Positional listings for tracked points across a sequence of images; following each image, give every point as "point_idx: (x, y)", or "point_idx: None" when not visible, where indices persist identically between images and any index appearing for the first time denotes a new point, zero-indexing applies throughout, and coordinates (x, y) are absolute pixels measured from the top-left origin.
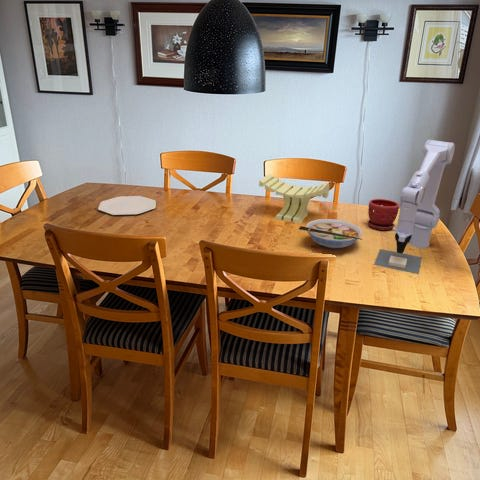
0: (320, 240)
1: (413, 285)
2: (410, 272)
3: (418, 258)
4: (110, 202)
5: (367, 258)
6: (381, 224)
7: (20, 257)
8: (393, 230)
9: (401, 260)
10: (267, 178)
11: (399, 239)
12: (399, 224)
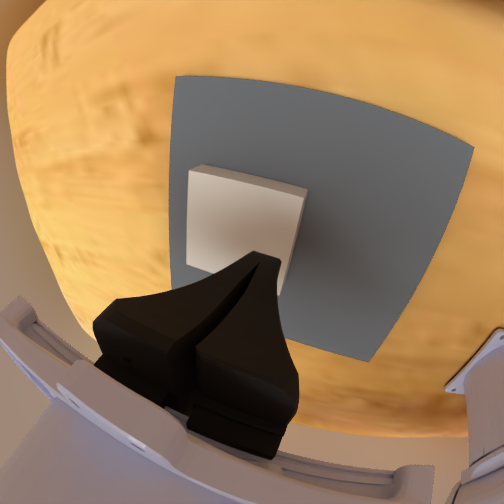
0: None
1: (106, 251)
2: (170, 267)
3: (351, 347)
4: None
5: (297, 30)
6: None
7: None
8: (75, 364)
9: (239, 256)
10: None
11: (9, 309)
12: (2, 470)
